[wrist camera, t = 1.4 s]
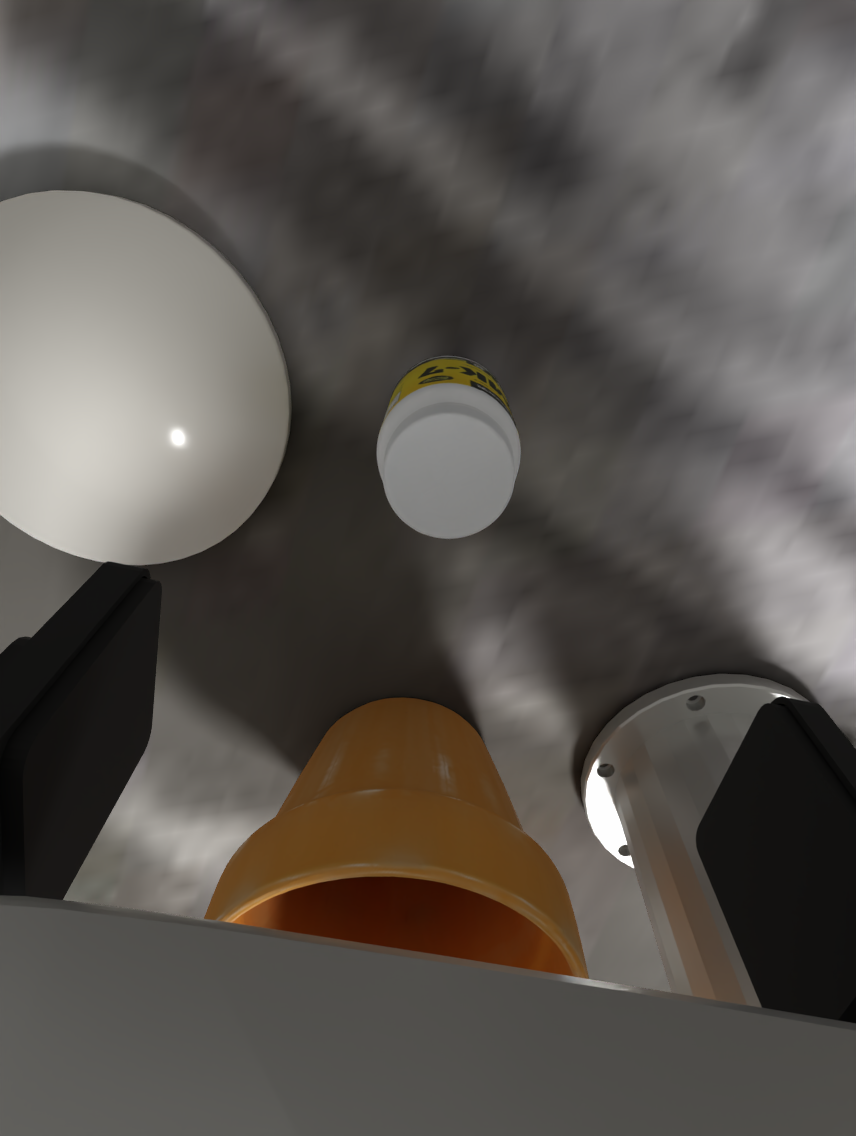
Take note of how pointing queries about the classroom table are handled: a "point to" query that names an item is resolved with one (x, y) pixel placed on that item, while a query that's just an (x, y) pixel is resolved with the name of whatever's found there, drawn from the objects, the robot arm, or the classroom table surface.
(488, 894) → the flower pot
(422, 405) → the supplement bottle
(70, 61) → the classroom table surface
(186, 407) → the dish
